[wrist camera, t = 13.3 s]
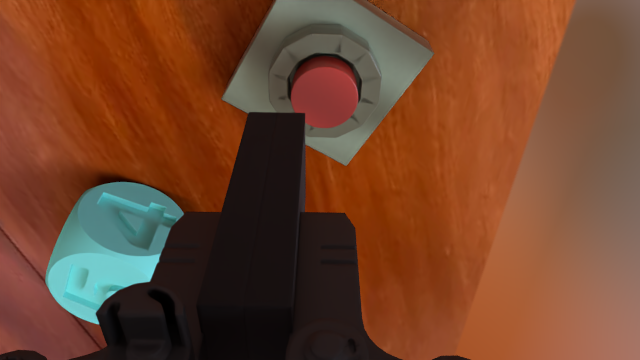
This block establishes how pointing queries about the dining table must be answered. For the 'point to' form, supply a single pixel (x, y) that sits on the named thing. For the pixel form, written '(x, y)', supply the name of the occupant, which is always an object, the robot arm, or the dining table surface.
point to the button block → (336, 41)
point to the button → (324, 91)
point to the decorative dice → (109, 244)
